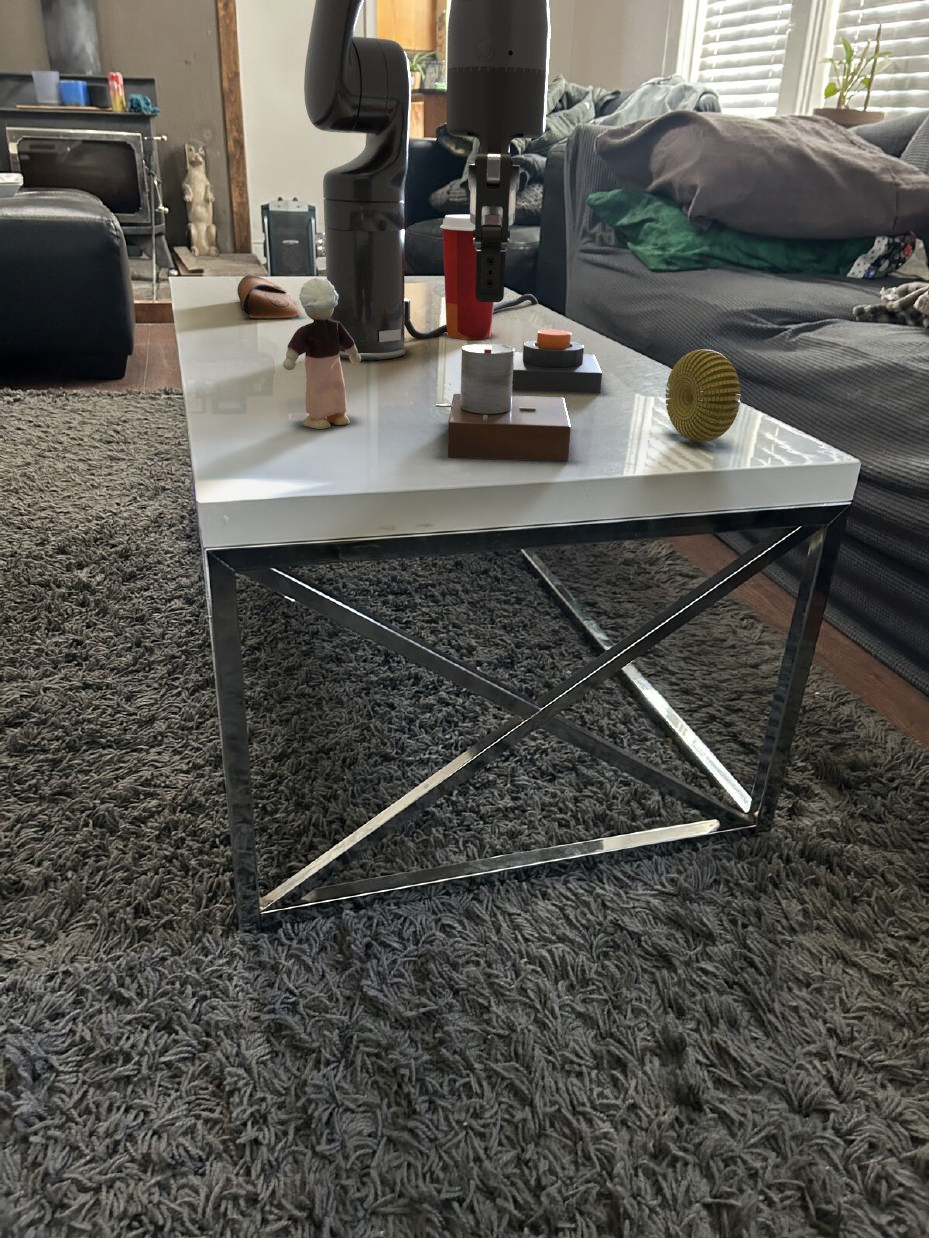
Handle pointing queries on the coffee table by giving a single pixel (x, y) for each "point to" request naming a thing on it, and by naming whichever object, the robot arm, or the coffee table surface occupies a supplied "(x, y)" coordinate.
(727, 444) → the coffee table surface
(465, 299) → the coffee cup
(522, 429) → the panel
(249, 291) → the sunglasses case
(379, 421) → the coffee table surface
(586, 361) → the button box
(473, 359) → the lock knob
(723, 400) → the sculpture
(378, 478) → the coffee table surface
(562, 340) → the button
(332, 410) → the grandmother figurine
